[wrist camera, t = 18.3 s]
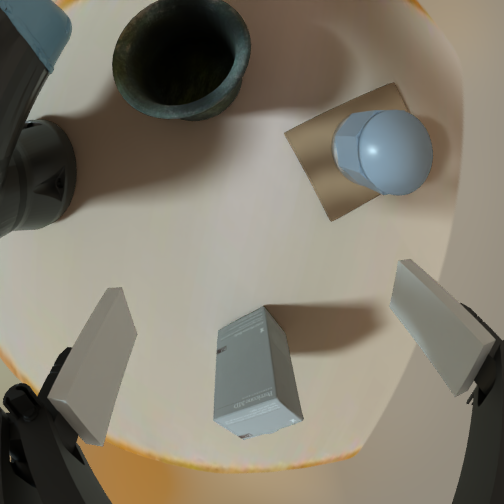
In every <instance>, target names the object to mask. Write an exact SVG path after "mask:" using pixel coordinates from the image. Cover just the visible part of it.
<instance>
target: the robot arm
mask: <svg viewBox="0 0 504 504" xmlns="http://www.w3.org/2000/svg"><path fill="white" fill-rule="evenodd" d="M71 33H72V24H71V21H70V19H69V17H68V16H67V15H66V13H65V12H64V11H63V10H62V9H61V8H60V7H58V6H57V5H56V4H55V3H54V2H52V1H51V0H0V238H1V237H3V236H4V235H6V234H8V233H9V232H11V231H18V230H36V229H40V228H43V227H45V226H47V225H49V224H51V223H52V222H54V221H56V220H57V219H58V218H59V217H61V215H62V214H63V213H64V212H65V211H66V209H67V207H68V206H69V204H70V202H71V199H72V196H73V193H74V189H75V184H76V161H75V155H74V151H73V148H72V145H71V143H70V141H69V139H68V137H67V136H66V134H65V133H64V131H63V130H62V129H61V128H60V127H59V126H57V125H56V124H54V123H52V122H50V121H47V120H29V121H26V119H27V117H28V115H29V113H30V110H31V108H32V106H33V104H34V102H35V100H36V98H37V96H38V94H39V92H40V91H41V89H42V87H43V85H44V83H45V81H46V80H47V78H48V76H49V74H52V72H53V70H54V65H55V63H56V61H57V59H58V58H59V56H60V54H61V52H62V50H63V49H64V47H65V46H66V44H67V42H68V41H69V39H70V36H71ZM390 308H391V310H392V311H393V312H394V313H395V315H396V316H397V317H398V319H399V320H400V321H401V322H402V324H403V325H404V326H405V328H406V329H407V330H408V332H409V333H410V334H411V336H412V337H413V338H414V340H415V341H416V342H417V344H418V345H419V346H420V348H421V349H422V350H423V352H424V353H425V355H426V356H427V357H428V359H429V360H430V362H431V363H432V364H433V366H434V367H435V369H436V370H437V371H438V373H439V374H440V376H441V377H442V378H443V380H444V381H445V383H446V385H447V386H448V387H449V389H450V390H451V392H452V393H453V395H454V396H455V397H456V396H458V395H460V394H462V393H464V392H466V391H467V390H468V389H469V387H470V386H471V384H472V383H473V381H475V383H476V384H477V386H476V388H475V390H474V391H473V392H472V394H471V396H470V397H469V399H468V400H467V404H469V402H470V401H471V400H472V398H474V399H473V403H472V405H473V409H472V417H471V425H470V432H469V437H468V443H467V448H466V453H465V458H464V463H463V467H462V471H461V475H460V478H459V482H458V486H457V489H456V493H455V496H454V499H453V502H452V504H504V340H503V341H502V340H501V339H500V338H499V337H498V336H497V335H496V333H494V331H493V330H492V329H491V328H490V327H489V326H488V325H487V324H486V323H485V322H483V321H482V319H481V318H480V317H479V316H478V317H477V314H476V313H475V312H474V311H472V309H471V308H469V307H467V306H466V305H464V304H462V303H459V302H458V301H457V300H456V299H455V298H454V297H453V296H452V295H450V294H449V293H448V292H447V291H446V290H445V289H444V288H443V287H442V286H441V285H440V284H439V283H437V282H436V281H435V280H434V279H433V278H432V277H431V276H430V275H428V274H427V273H426V272H425V271H424V270H423V269H422V268H420V267H419V266H418V265H417V264H416V263H415V262H413V261H412V260H411V259H407V260H399V261H398V266H397V272H396V277H395V282H394V288H393V293H392V297H391V302H390ZM136 337H137V331H136V328H135V326H134V323H133V320H132V317H131V314H130V311H129V308H128V305H127V302H126V299H125V296H124V292H123V289H122V287H119V288H108V289H107V290H106V292H105V293H104V295H103V296H102V298H101V300H100V301H99V303H98V305H97V306H96V308H95V309H94V311H93V313H92V314H91V316H90V318H89V320H88V321H87V323H86V325H85V326H84V328H83V330H82V332H81V333H80V335H79V337H78V339H77V340H76V342H75V344H74V346H73V348H71V347H67V348H66V349H65V350H64V351H63V352H62V353H61V354H60V355H59V356H58V358H57V360H56V362H55V363H54V366H53V367H52V369H51V371H50V374H49V375H48V376H47V378H46V380H45V382H44V384H43V386H42V388H41V390H40V392H39V394H38V396H36V394H35V393H34V392H33V390H32V389H31V387H30V386H28V385H27V384H24V383H19V384H16V385H14V386H12V387H11V388H9V390H8V391H7V392H6V394H5V396H4V398H3V405H4V406H5V407H6V408H7V409H8V411H9V412H10V413H5V412H4V411H3V410H2V409H1V407H0V504H112V503H111V501H110V500H109V498H108V497H107V495H106V493H105V492H104V490H103V488H102V487H101V485H100V484H99V482H98V480H97V478H96V477H95V475H94V473H93V471H92V469H91V468H90V466H89V464H88V462H87V460H86V458H85V456H84V454H83V452H82V450H81V448H80V446H79V445H78V444H77V443H76V441H77V438H78V435H79V437H80V438H82V440H83V441H84V442H85V443H86V444H92V445H97V446H103V444H104V441H105V437H106V433H107V430H108V426H109V422H110V419H111V415H112V412H113V408H114V405H115V401H116V398H117V395H118V391H119V388H120V385H121V382H122V378H123V375H124V372H125V369H126V366H127V363H128V360H129V357H130V354H131V351H132V348H133V345H134V342H135V340H136ZM9 455H10V456H11V462H10V457H9Z"/></svg>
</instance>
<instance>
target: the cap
mask: <svg viewBox="0 0 504 504" xmlns="http://www.w3.org/2000/svg"><path fill="white" fill-rule="evenodd" d="M335 140H336V148H337V156H338V164H339V167H341V168H342V169H343V170H344V171H345V172H347V173H348V174H349V175H350V176H351V177H352V178H353V179H355V180H356V181H357V182H358V183H359V184H361V185H363V186H365V187H367V188H369V189H372V190H374V191H376V192H378V193H380V194H382V195H387V194H392V195H406V194H409V193H412V192H413V191H415V190H417V189H418V188H419V187H420V186H421V185H422V184H423V183H424V181H425V180H426V178H427V177H428V175H429V172H430V169H431V166H432V160H433V149H432V143H431V140H430V137H429V134H428V132H427V130H426V128H425V127H424V125H423V124H422V123H421V122H420V121H419V120H418V119H417V118H416V117H415V116H413V115H412V114H410V113H408V112H406V111H405V110H373V111H365V112H358V113H352V114H351V115H350V116H349V118H348V119H347V120H346V122H345V123H344V124H343V126H342V127H341V128H340V130H339V131H338V132H337V134H336V135H335Z"/></svg>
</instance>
